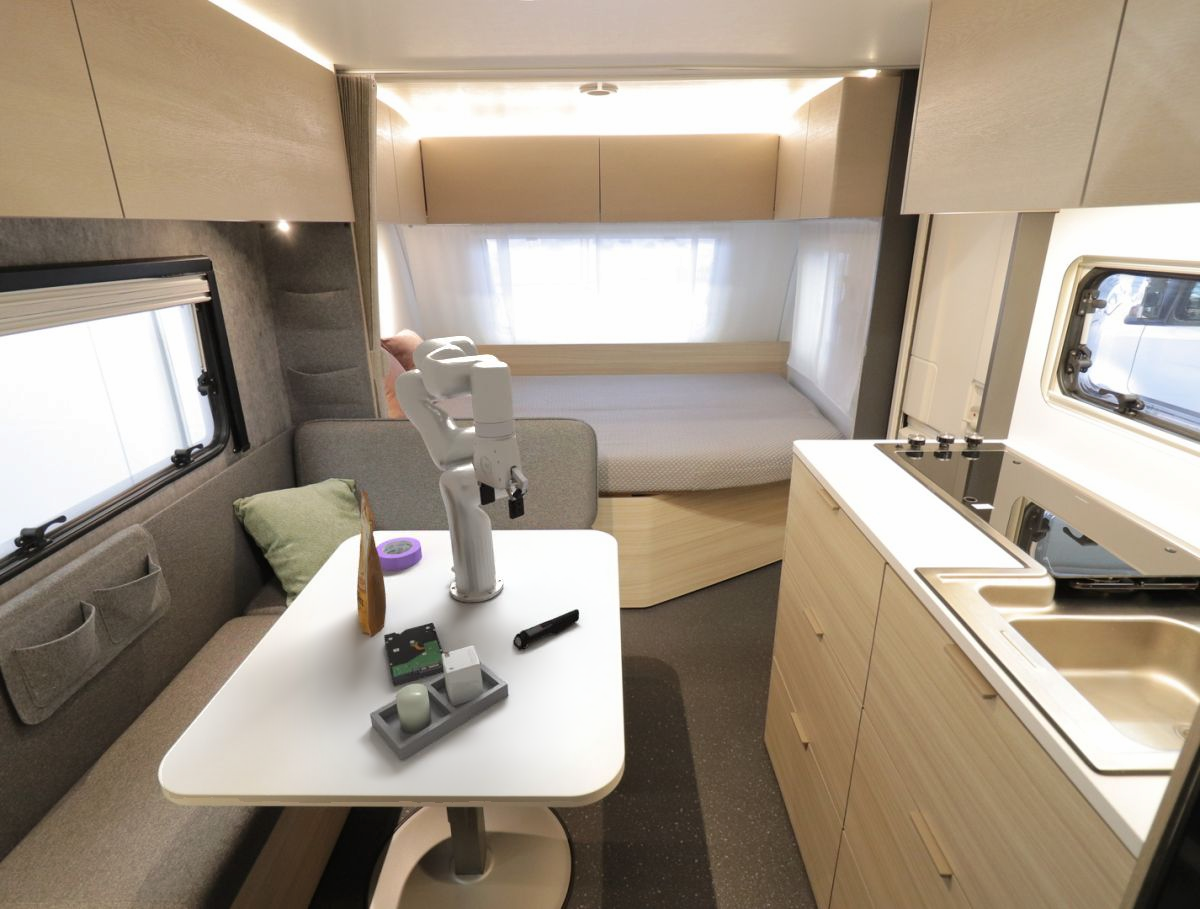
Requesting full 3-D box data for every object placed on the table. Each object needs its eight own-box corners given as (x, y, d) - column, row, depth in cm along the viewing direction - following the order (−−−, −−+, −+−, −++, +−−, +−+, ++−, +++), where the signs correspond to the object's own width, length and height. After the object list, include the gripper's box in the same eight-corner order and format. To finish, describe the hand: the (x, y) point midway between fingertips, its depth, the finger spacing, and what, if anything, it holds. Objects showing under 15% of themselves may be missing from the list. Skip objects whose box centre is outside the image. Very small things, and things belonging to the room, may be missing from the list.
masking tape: (429, 550, 166) (427, 537, 165) (411, 571, 155) (409, 558, 154) (389, 548, 168) (386, 536, 167) (368, 570, 157) (366, 557, 156)
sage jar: (395, 722, 105) (390, 694, 103) (422, 707, 108) (418, 679, 106) (409, 738, 101) (404, 709, 99) (437, 722, 105) (433, 693, 103)
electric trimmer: (583, 625, 132) (583, 612, 131) (521, 652, 123) (520, 639, 122) (573, 617, 135) (573, 605, 134) (512, 643, 126) (511, 630, 125)
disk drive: (384, 646, 127) (393, 689, 114) (382, 635, 126) (391, 677, 113) (434, 632, 131) (448, 672, 118) (433, 621, 130) (447, 660, 117)
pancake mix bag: (392, 591, 146) (375, 483, 137) (392, 637, 129) (372, 517, 120) (363, 596, 144) (343, 488, 135) (359, 643, 127) (335, 522, 118)
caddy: (402, 761, 98) (399, 748, 97) (372, 725, 105) (369, 713, 104) (508, 695, 111) (507, 683, 110) (475, 667, 119) (474, 656, 118)
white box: (484, 697, 110) (480, 663, 108) (451, 707, 108) (446, 673, 105) (477, 676, 115) (473, 644, 113) (445, 686, 113) (440, 653, 111)
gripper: (453, 423, 119) (462, 503, 124) (505, 441, 107) (513, 529, 112) (485, 415, 123) (493, 493, 129) (538, 431, 112) (544, 516, 117)
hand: (502, 509), depth 121 cm, fingers open, 9 cm apart
